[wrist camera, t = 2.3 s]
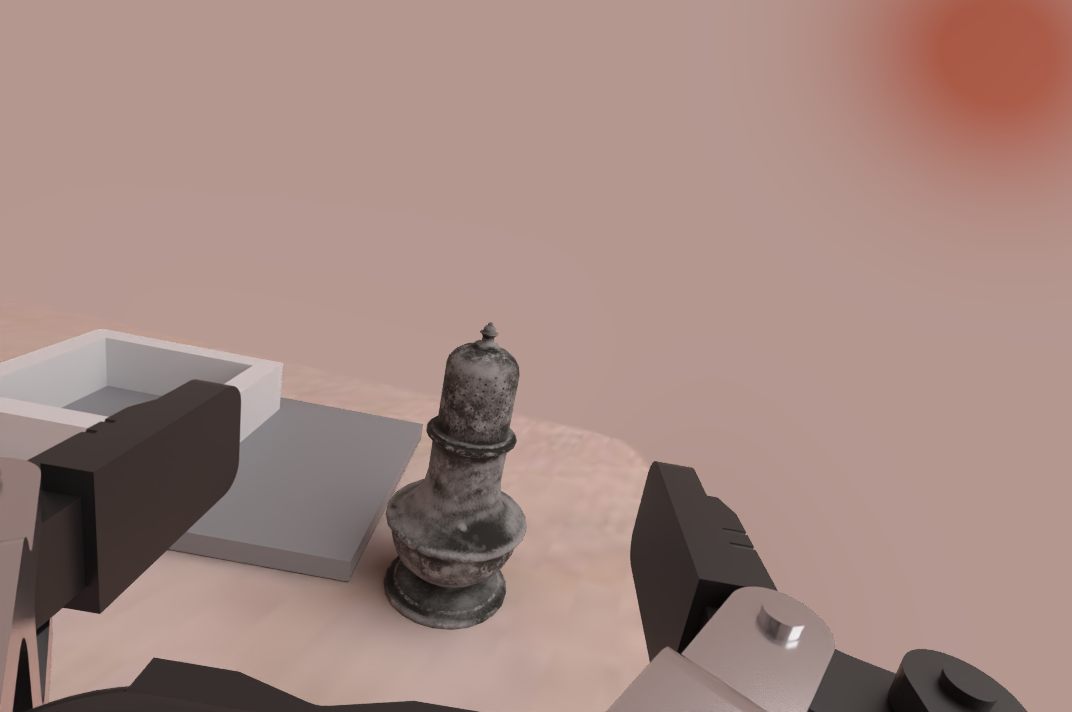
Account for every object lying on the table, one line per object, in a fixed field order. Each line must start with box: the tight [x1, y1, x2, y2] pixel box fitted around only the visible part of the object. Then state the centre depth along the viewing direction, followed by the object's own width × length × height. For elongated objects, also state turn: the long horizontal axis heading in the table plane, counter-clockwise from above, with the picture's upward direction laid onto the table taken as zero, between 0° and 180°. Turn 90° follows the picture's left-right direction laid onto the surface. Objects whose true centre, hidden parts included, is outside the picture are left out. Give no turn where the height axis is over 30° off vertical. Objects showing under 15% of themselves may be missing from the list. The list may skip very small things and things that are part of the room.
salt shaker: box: [384, 323, 527, 629], centre depth 24 cm, size 6×6×12 cm
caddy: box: [0, 328, 423, 582], centre depth 31 cm, size 20×14×4 cm
